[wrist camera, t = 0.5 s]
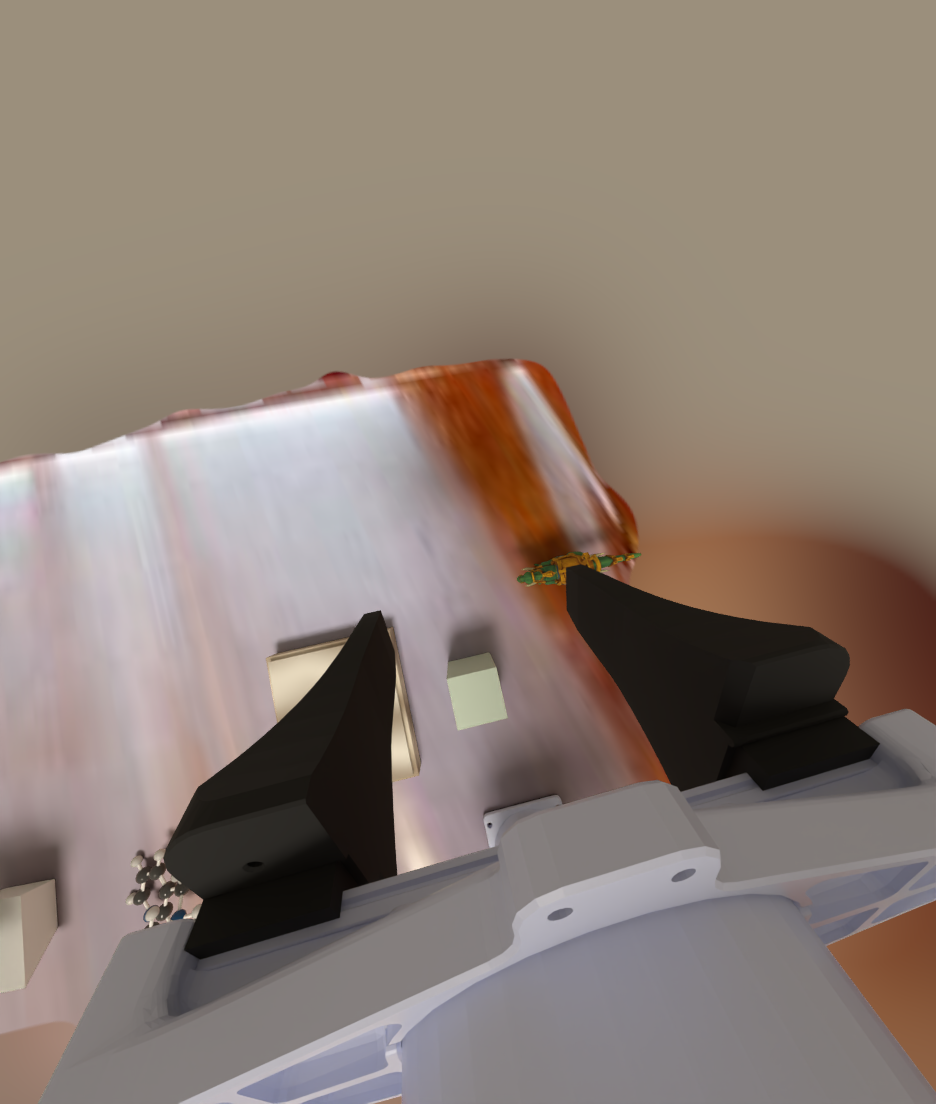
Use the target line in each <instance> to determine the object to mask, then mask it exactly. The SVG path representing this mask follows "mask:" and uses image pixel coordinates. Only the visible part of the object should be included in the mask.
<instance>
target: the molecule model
mask: <svg viewBox="0 0 936 1104" xmlns="http://www.w3.org/2000/svg"><path fill="white" fill-rule="evenodd" d="M165 851H166V850H165V849H159V850H158V851H157V852H156V853H155V854H154V860H155V861H157V864H156V865H154V866H153V867H150V866H146V867H144V868H143V867H142V865H141V863H142V861H143V857H142V856H141V855H139V856H136V857H135V858H133V860H132V861H131V867H138V869H139V870H140V871H139V872H138V874H137V875H136V882H137V883H139V884H141V889H140V890H139V891H137V893H136V892H134V893H131V894H130V895H129V896H128V897H127V899H126V904H127V905H131V904H133V903H134V904H135V905H141V904H144V906H145V907H146V909H147V910H146V912H145V913H144V916H143V920H144V921H145V922H149V925H147V926H146V927H145V928H144V929H146V928H149V927H153V926H156V925H160V924H159V923H158V922H154V919H155V918H156V920H157V921H163V920H165V919H166V920H167V922H170V921H173V920H179V919H186V918H190V917H192V918H193V919H194V920H196V918H197V915H198V913H199V910H200V907H201V905H202V904H198V905H197V906H196V907H195V908H194V909H193V911H192V913H190V914H187V913H186V910H184V909H181V908H182V902H183V895H185V894H186V893H187V892H188V891H189V890H190V889H189V888H187V887H186V886H185V885H183V884H182V883H181V882H179V881H178V880H177V879H175V878H174V877H173V876H172V875H171V881H169V882H166V880H165V878H164V877H163V874H164V873H165V871H166V867H165V863H160V862H161V859H162V858H163V857H164V854H165ZM149 879H150V880H157V879H159V880H160V882H161V883H162V885H163V886H162V887H161V889H160V891H159V897H160V898H161V899H165V900H164V904H162V905H161V906H160V907H159V906H157V905H153V906H151V907H150V906H149V904H148V902H147V899H148V898H149V896H150V893H151V891H150V889H149V888H148V887H145V883H146V881H148V880H149ZM177 881H178V883H177V885H176V882H177ZM173 893H174V894H175V895H176V896H177V897H180V899H179V906H178V911H176V912H175V913H174V914H173V915H172V917H171V918H170V916H169V915H170V914H171V913H172V910H173V904H172V903H171V902H168V898H169V897H170V896H172V895H173Z"/></svg>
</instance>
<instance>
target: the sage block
mask: <svg viewBox="0 0 936 1104" xmlns="http://www.w3.org/2000/svg"><path fill="white" fill-rule="evenodd" d="M447 682H448V687H449V692H450V697H451V701H452V706H453V711H454V715H455V720H456V725H457V730H462V729H466V728H470V727H474V726H478V725H482V724H486V723H490V722H494V721H498V720H502V719H506V718H508V717H507V713H506V708H505V704H504V699H503V695H502V691H501V686H500V682H499V677H498V673H497V668H496V665H495V663H494V661H493V659H492V657H491V655H490V653H484V654H480V655H476V656H472V657H467V658H463V659H459V660H455V661H450V662H448V670H447Z"/></svg>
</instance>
